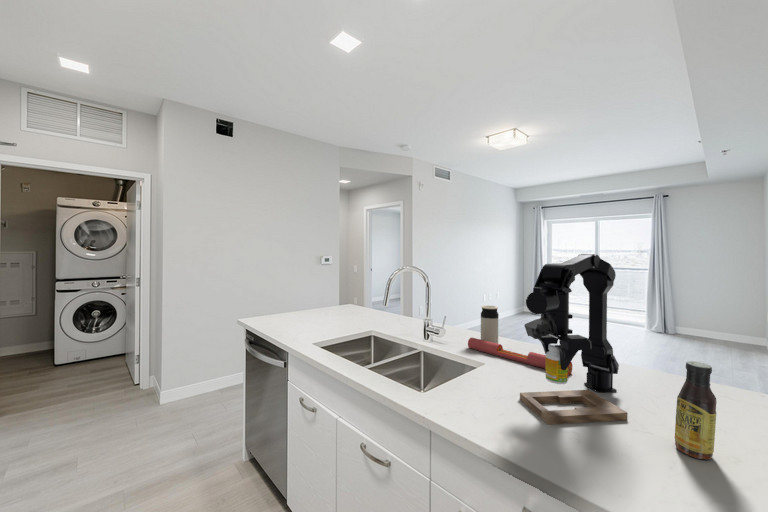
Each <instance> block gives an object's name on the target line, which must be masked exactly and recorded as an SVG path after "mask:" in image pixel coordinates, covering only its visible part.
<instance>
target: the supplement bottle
mask: <svg viewBox="0 0 768 512" xmlns="http://www.w3.org/2000/svg"><path fill="white" fill-rule="evenodd" d="M555 345H560V343H557V344H549V345H548V349H549V352H547V353H546V354H545V355H546V369H545V379H546V381H548V382H550V383H552V384H557V385H565V384H567V383H568V380H569V375H568V367H567V369H566V370H562V369H561V364H560V352H559V350H558V349H557V348H556V347H555Z"/></svg>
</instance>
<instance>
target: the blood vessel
mask: <svg viewBox="0 0 768 512" xmlns="http://www.w3.org/2000/svg"><path fill="white" fill-rule="evenodd" d="M467 347H468V348H469V349H471V348H472V350H474V349H476V350H475V351H478V350H479V352H482V351H483V352H482V353H485V352H486V354H489V353H490V355H492V354H493V355H492V356H496V355H497V356H496V357H500V356H501V357H500V358H503V357H504V359H507V358H508V360H511V361H514V360H515V361H514V362H518V363H522V364H525V363H526V364H527V365H530V366H533V367H536V366H537V368H539V369H540V368H541V369H543V368H544V369H543V370H546V354H542V353H537V352H533V351H530V352H528V354H527V355H525V354H523V353H517V352H514V351H511V350H508V349H507V350H506V349H504V348H503V345H502V344H501V343H498V344H497V343H493V342H489V341H485V340H481V338H477V337H473V336H472V337H470V338H469V339H468V341H467ZM526 364H525V365H526ZM572 373H573V363H572V361H571V362H570V364H569V366H568V376H570V375H572Z"/></svg>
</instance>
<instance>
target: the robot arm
mask: <svg viewBox="0 0 768 512" xmlns="http://www.w3.org/2000/svg"><path fill="white" fill-rule="evenodd" d="M577 275H579V276H581V278H582V282H583V283H582V284H583V286H584V287H585V289H586V291H587V292H588V337H586V336H582V335H580V334H573V329H571V328H570V326H569V325H570V319H573V314H571V313H570V308H569V307H570V303H569V302H570V293H572V292H573V290H572V288H570V287H571V285H572V284H573V283H574V282H575V281H576V276H577ZM616 276H617V275H616V270H615V269H614V268H613V266H612V264H611V263H609V262H607V261H606V260H604V259H602V258H601V257H600V255H599V254H597V253H580V254H578V255H577V256H574V257H573V258H570V259H568V260H566V261H564V262H559V263H557V262H556V263H554V262H553V263H552V262H551V263H545V264H544V265H542V268H541V269H540V271H539V274H538V276H537V279H536V282H535V284H534V287H533V289H532V292H530V293H529V294H528V295H527V298H526V300H525V304H526V305H525V306H526V307H527V309H528V310H529V312H531V313H532V314H534V315H540V318H538V319H533V320H531V321H528V322H527V323H524V325H523V326H524V330H525V331H526V334H527V336H528V337H530V338H532V339H534V340H538V341H539V342H540V343H541V346H542V348H543V351H544V355H546V353H547V352H549V349H548V345H549V344H560V345H555V347H556V348H557V349H558V350H559V352H560V364H561V369H562V370H566V369H567V367H568V366H569V364H570V362H572V361H573V359H574V357H575V356H576V355H577V353H578V352H579V351H581V353H580V357H581V363H582V367H584V368H587V372H586V382H584V383H583V385H585V386H586V387H588V388H590V389H592V390H593V391H595V392H597V393H612V392H613V393H614V392H617V391H618V390H617V389H616V388H614V387H613V386H614V385H613V383H614V382H613V381H614V378H613V377H614V375H618V373H619V369H620V368H619V367H620V365H619V363H618V361H617V358H616V357H615V355H614V348H613V347H612V345H611V343H610V341H609V340H608V337H607V336H608V335H607V333H608V331H607V330H608V328H607V327H608V325H607V324H608V323H607V322H608V293H609V292H610V290H611V289H612V288H613V287H614V285H615V284H614V281H615V279H616Z"/></svg>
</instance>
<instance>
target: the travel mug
mask: <svg viewBox="0 0 768 512" xmlns="http://www.w3.org/2000/svg"><path fill="white" fill-rule="evenodd" d="M498 308H499V307H498V306H496V305H481V312H480V340H485V341H489V342H493V343H497V344H499V313H498Z"/></svg>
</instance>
